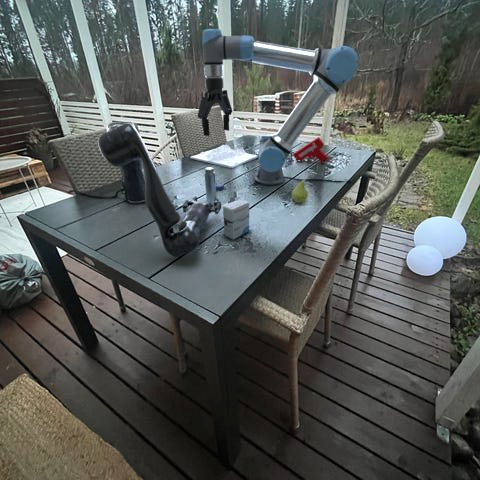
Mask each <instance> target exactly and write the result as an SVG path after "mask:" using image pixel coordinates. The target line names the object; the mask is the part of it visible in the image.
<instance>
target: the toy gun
mask: <svg viewBox="0 0 480 480" xmlns="http://www.w3.org/2000/svg"><path fill="white" fill-rule="evenodd" d="M324 145H325V143H324V142H323V140H322V138H321V137H320V136H318V137H316V138H314V139H313V140H311V141H310V142H308V143H306V145H304V146H303V147H301V148H299V149H298V150H296V151H295V152H294V153H293V158H294V159H295V160H296V163H300V162H301V161H297V160H302V161H303V160H305V159H306V158H309V160H313V159H314V158H316V159H317V160H319V161H320V163H321V162H324V163H325V161H326V163H327V162H328V159H329V156H328V155H327V154H326V153H325V152H323V151H322V150H321V149H323V147H324ZM324 163H321V165H323V164H324Z"/></svg>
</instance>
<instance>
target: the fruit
mask: <svg viewBox="0 0 480 480" xmlns="http://www.w3.org/2000/svg"><path fill="white" fill-rule="evenodd" d="M310 177H311V175H310V174H309V175H308V176H307V177H305V178H304V179H305V180H306V179H310ZM305 180H302V181H299V182H298V184H297V185H296V186H295V187H294V188H293V190H292V191H291V198H292V200H293V201H294V202H295V203H297V204H301V203H304V202H305V201H306V200H307V198H308V196H309V195H308V190H307V189H306V184H305V183H306V181H305Z"/></svg>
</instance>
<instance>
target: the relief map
mask: <svg viewBox="0 0 480 480" xmlns="http://www.w3.org/2000/svg"><path fill="white" fill-rule="evenodd" d="M258 156H259V155H256V154H252V153H247V152H246V151H245V150H244V148H238V149H233V148H231V147H230V146H229V145H228V144H222V145H219V147H215V148H213V149H210V150H206V151H201V152H200V153H198V154H194V155H191V156H190V159H191V160H196V161H199V162H203V163H207V164H212V165H215V166H221V167H224V168H229V169H235V168H237V167H239V166H241V165H244V164H246V163H250V162H251V161H253V160H256V159H258Z"/></svg>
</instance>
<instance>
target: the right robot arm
mask: <svg viewBox="0 0 480 480" xmlns="http://www.w3.org/2000/svg"><path fill="white" fill-rule="evenodd" d="M201 45H202V55H203V69H204V76H205V79H204V86H205V89H206V90H207V91H202V92H201V99H200V104H199V108H198V113H197V119H199V120H201V126H202V130H203V136H205V137H210V122H209V121H210V120H209V119H208V118H209V115H210V112H211V110H212V107H213V106H214V105H215V104H218V105H219V107H220V109H221V111H222V113H223V115H222V121H223V131H230V116H231V115H232V113H233V108H232V105H231V102H230V99H229V95H228V90H227V89H224V87H225V86H224V85H225V84H224V60H225V61H227V60H229V61H230V60H231V61H232V60H233V61H241V62H248V63H255V64H259V65H265V66H266V65H267V66H272V67H277V68H284V69H290V70H294V71H301V72H306V73H309V75H310V76H312V77H313V82H312V83H311V84H310V86H309V87H308V88H307V90H306V92H305V93H304V94H303V96H302V98H301V99H300V100H299V101H298V103H297V104H296V105H295V107H294V109H293V110H292V111H291V113H290V114H289V115H288V117H287V118H286V120H285V121H284V123H283V124H282V125H281V126H280V128H279V129H278V131H277V132H276V133H273V134H272V133H271V134H263V135H260V137H259V151H258V155H257V156H258V157H257V159H258V167H257V171H256V173H255V177H254V181H255V183H258V184H259V185H262V186H263V185H264V186H279V185H281V184H283V183H284V181H285V179H287V180H292V181H298V182H301V181H302V180H305V179H306V178H295V177H291V176H290V177H289V176H285V175H284V172H283V171H284V170H283V167H284V165H285V163H286V159H287V158H288V157H289V155H290V154H291V153H292V152H293V145H294V143H296V141H297V140H298V138H300V136H301V134H302V133H303V132H304V131H305V129H306V128H307V126H308V125H309V124H310V123H311V121H312V120H313V119H314V117H315V116H316V115H317V114H318V112H319V111H320V110H321V109H322V107H323V105H324V104H325V103H326V102H327V100H328V99H329V98H330V97H331V96H332V95H337V94H338V92H339V91H340V90H341V89H342V87H343V86H344V85H345V84H347V83H348V82H349V81H350V80H352V78H353V77H354V76H355V75H356V73H357V71H358V67H359V57H358V54H357V52H356V51H355V50H354V49H353V48H352V47H350V46H347V45H339V46H337V47H334V48H327V49H326V48H324V49H323V48H317V47H316V48H315V50H311V49H305V48H301V47H300V48H299V47H294V46H288V45H281V44H276V43H271V42H264V41H259V40H254V37H253V36H252V35H247V34H242V35H223V32H222V30H221V29H220V28H206V29H204V30H202V44H201ZM323 179H324V178H307V179H306V180H305V182H309V181H314V182H315V181H316V182H317V181H318V182H319V181H320V182H331V183H344V182H345V181H341V180H335V181H332V180H333V179H328V180H323ZM346 182H347V183H349V184H351V181H350V180H349V181H346Z"/></svg>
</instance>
